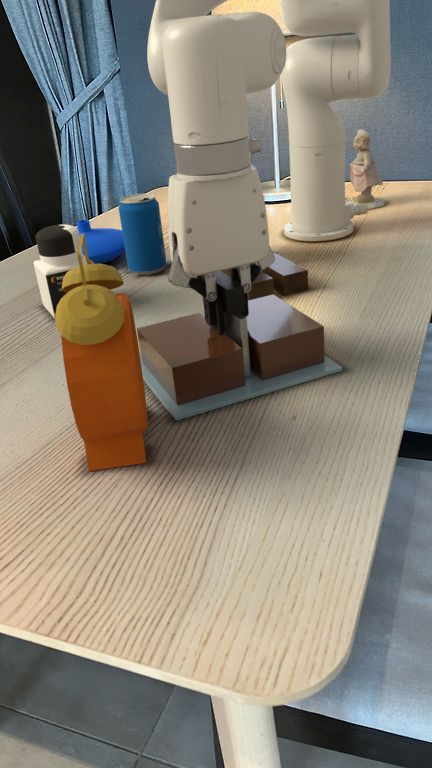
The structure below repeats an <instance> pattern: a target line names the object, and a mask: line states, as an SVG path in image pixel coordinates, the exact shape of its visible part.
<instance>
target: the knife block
mask: <svg viewBox="0 0 432 768" xmlns="http://www.w3.org/2000/svg"><path fill="white" fill-rule="evenodd" d="M273 254H274V256H275V261H274V262H273V263H272V264H271V265H269V266H268V267H267V268H265V269H264V270H261V271H260V273H259V275H258V276H257V277H256V279H255V280H254V282H253V283H252V284H251V290H250V291H249V292H248V293H247V295H248V301H249V300H253V299H257V298H261V297H265V296H269V295H275V291H277V293H280V294H281V295H283V296H288V295H292V294H295V293H301V292H303V291H308V290H309V269H307V268H305V267H303V266H301V265H299V264H297V263H295V262H294V261H291V260H289V259H287V258H286V257H284V256H281V255H280V254H278V253H277V252H276V253H275V252H273ZM221 272H223V273H224V274H226V275H227V276H229V277H230V278H231V274H230V269H228V270H224V271H221Z"/></svg>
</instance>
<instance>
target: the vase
mask: <svg viewBox="0 0 432 768" xmlns="http://www.w3.org/2000/svg"><path fill="white" fill-rule="evenodd" d="M76 228H77V229H78V231H79V236H80V234H84V236H85V241H86V246H87V251H88V257H89V260H92V262H93V263H94V264H105V263H108V262H111V261H113V260H116V258H118V257H119V256H121V255H123V254H124V253H126V252H125V246H124V239H123V233H122V229H119V228H111V227H110V228H108V227H107V228H105V227H101V228H92V226H91V223H90V219H79V220H77V221H76ZM82 252H83V253H82V254H83V255H84V256H85V253H84V248H83V242H82Z"/></svg>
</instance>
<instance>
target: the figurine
mask: <svg viewBox="0 0 432 768" xmlns="http://www.w3.org/2000/svg"><path fill="white" fill-rule="evenodd" d="M370 137H371V136H370V135H369V133H368V132H367V131H366V130H365V129H361V128H360V129H358V130H357V133H356V136H355V137H354V140H353V144H352V148H353V149H355V150H359V151H358V152H357V153H356V157H355V158H354V160H353V161H352V162H350V163H349V167H350V168H349V169H350V175H349V179H350V183H351V184H352V186H353V189H354V191H355V192H357V193H360V194H358V195H357V196H352V197H351V200H348V201H345V203H347V204H353V205H354V206H356V205H359V204H363V203H366V204H367V205H368V210H372V209H373V210H374V209H377V208H381V207H384V206H385V205H386V203H385V200H383V199H381V198H378V197H375V196H374V195H372V188H374V187H375V186H384V184H383V180H382V179H381V176H380V174H379V171H378V169H377V166H376V160H375V159H374V158H373V153H372V150H371V147H370V143H371V138H370Z"/></svg>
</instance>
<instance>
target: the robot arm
mask: <svg viewBox="0 0 432 768" xmlns="http://www.w3.org/2000/svg"><path fill="white" fill-rule="evenodd" d="M228 1H229V0H155V3H154V8H153V12H152V16H151V21H150V26H149V31H148V38H147V47H146V49H147V50H146V51H147V52H146V53H147V57H146V58H147V65H148V66H147V68H148V73H149V76H150V78H151V81H152V82H153V83H152V84H153V85H154V86H155V88H156V89H157V90H158V91H160V92H161V93H162V94H163V95H166V96H167V98H168V105H169V114H170V122H171V135H172V141H173V149H174V158H175V168H176V174H173V175H171V176H169V177H168V178H169V179H168V188H167V189H168V190H167V230H168V231H167V233H168V246H169V255H170V260H171V266H170V269H169V272H168V277H167V280H168V282H170V284H172V285H173V286H174V287H179V288H185V289H192V290H194V291H195V292H196V293H197V294H199V295H201V297H202V303H203V310H204V311H203V312H204V317H205V321H206V323H207V324H208V325H209V326H210V327H212V328H213V329H214V330H215V331H216V332H217V333H219V334H221V333H224V331H225V321H224V312H223V303H222V300H221V299H219V298H218V293H217V285H216V272H220V271H224V270H228V269H230V274H231V278H232V279H233V280H235V281H236V282H238V283H239V284H241V285H243V286H244V297H245V311H246V312H244V313H240V314H242V315H243V316H245V317H246V316H248V315H249V309H248V295H247V293H248V292H249V291H250V290H251V284H252V283H253V282H254V280H255V279H256V277H257V276H258V275H259V273H260V271H261V270H264V269H265V268H267V267H268V266H269V265H271V264H272V263H273V262H274V261H275V256H274V252H273V250H272V247H271V246H270V233H269V224H268V223H269V222H268V213H267V209H266V202H265V197H264V191H263V187H262V183H261V180H260V176H259V173H258V169H257V167H256V166H255V165H253V164H252V163H253V155H255V154H256V153H261V151H262V142H261V139H260V138H252V135H250V132H249V131H250V129H249V115H248V99H247V95H250V94H251V95H252V94H259V93H263V92H265V91H268V90H269V89H271V88H272V87H273V86H274V85H275V84H276V82H278V81H279V79H280V78H281V82H282V88H283V95H284V99H285V105H286V106H285V107H286V112H287V113H286V115H287V127H288V146H289V147H288V149H289V151H288V153H289V176H290V177H289V178H290V179H289V180H290V201H291V202H290V206H291V221H290V222H288V223H287V224H285V225H284V226H283V234H284V236H285V237H287V238H289V239H291V240H294V241H301V242H326V241H333V240H338V239H342V238H345V237H348V236H349V235H351V234H352V233H353V232H354V229H355V226H354V222H352V220H351V219H353V218H354V217H355V216H362V215H366V214H368V212H369V209H368V205H367V204H366V203H363V204H359V205H356V206H354V205H353V204H347V203H346V129H345V125H344V123H343V121H342V119H341V117H340V116H339V114H338V113H337V112H336V110H335V109H334V108H333V107H332V105H331V104H330V103H333V102H334V103H335V102H341V101H358V100H361V101H362V100H370V99H375V98H378V97H380V96H382V95H383V94H384V93H385V91H386V90H387V88H388V86H389V83H390V78H391V70H392V69H391V67H392V62H391V61H392V59H391V53H392V52H391V3H390V2H391V1H390V0H279V2H280V7H281V13H282V18H283V22H284V25H285V27H286V29H287V31H288V32H289V33H291V34H292V35H295V36H298V37H311V38H305V39H301V40H298V41H295V42H294V43H291V44H290V45H288V47H287V41H286V37H285V35H284V33H283V31H282V28H281V26H280V24H278V22H277V21H276V20H275V19H274V18H273V17H272V16H271V15H269V14H267V13H263V12H260V11H243V12H233V13H225V14H224V13H223V14H222V13H218V14H210V15H209V13H210V12H211V11H213V10H214V9H216V8H217V7H220V5H222V4H224V3H226V2H228ZM350 33H352V34H350ZM339 34H346V35H339ZM347 34H349V35H347ZM330 35H331V36H330ZM316 36H321V37H316Z"/></svg>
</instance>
